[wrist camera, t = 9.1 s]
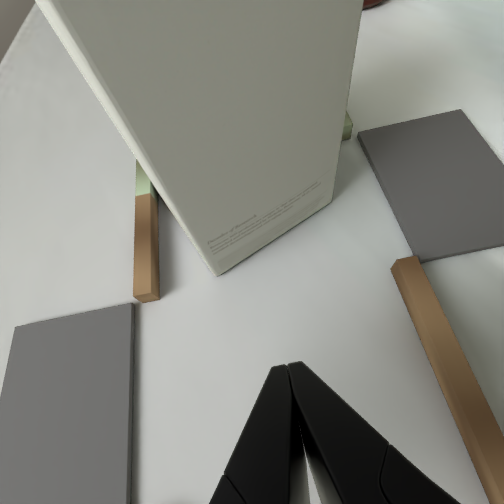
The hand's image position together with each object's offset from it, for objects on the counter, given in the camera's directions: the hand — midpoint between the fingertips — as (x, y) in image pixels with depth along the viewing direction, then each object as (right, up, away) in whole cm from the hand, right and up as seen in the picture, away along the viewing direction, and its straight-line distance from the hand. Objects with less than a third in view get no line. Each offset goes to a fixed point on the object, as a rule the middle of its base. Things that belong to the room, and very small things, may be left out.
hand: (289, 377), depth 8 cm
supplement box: (-2, +7, +12) cm, 14 cm away
